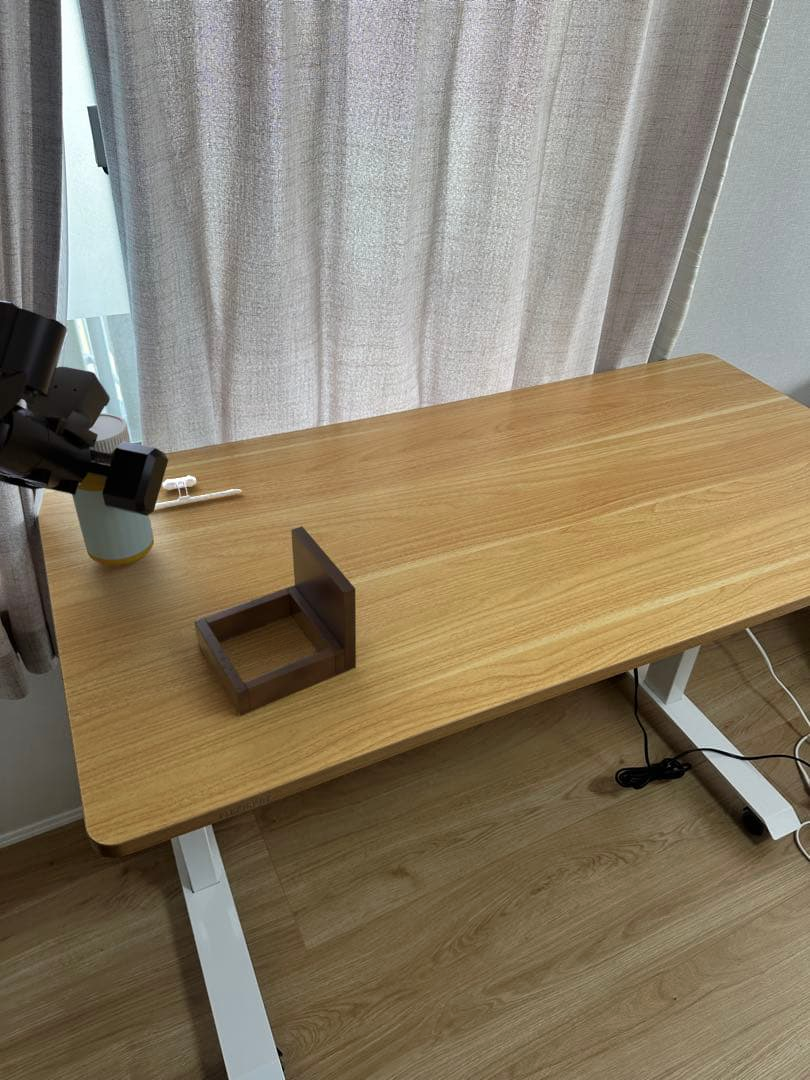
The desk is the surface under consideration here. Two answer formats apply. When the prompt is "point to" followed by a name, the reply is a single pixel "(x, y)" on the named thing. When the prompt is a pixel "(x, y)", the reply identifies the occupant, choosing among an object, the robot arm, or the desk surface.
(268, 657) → the desk surface
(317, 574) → the tray
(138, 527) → the bottle
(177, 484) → the picture light
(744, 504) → the desk surface
